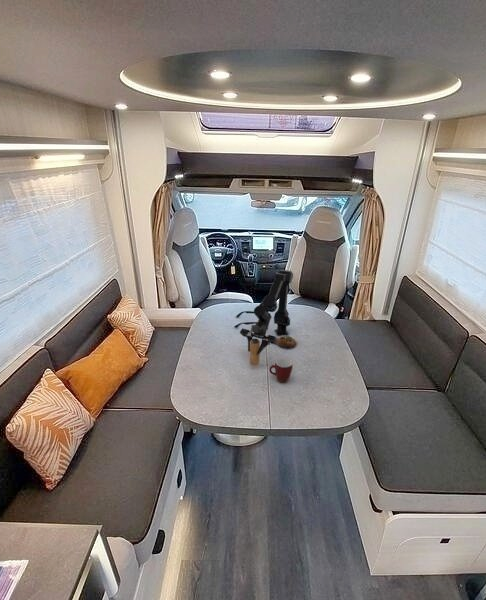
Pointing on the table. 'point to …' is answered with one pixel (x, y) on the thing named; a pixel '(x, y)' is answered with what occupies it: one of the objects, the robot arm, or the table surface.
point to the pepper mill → (254, 351)
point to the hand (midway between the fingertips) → (253, 352)
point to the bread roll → (286, 342)
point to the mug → (282, 369)
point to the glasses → (245, 322)
